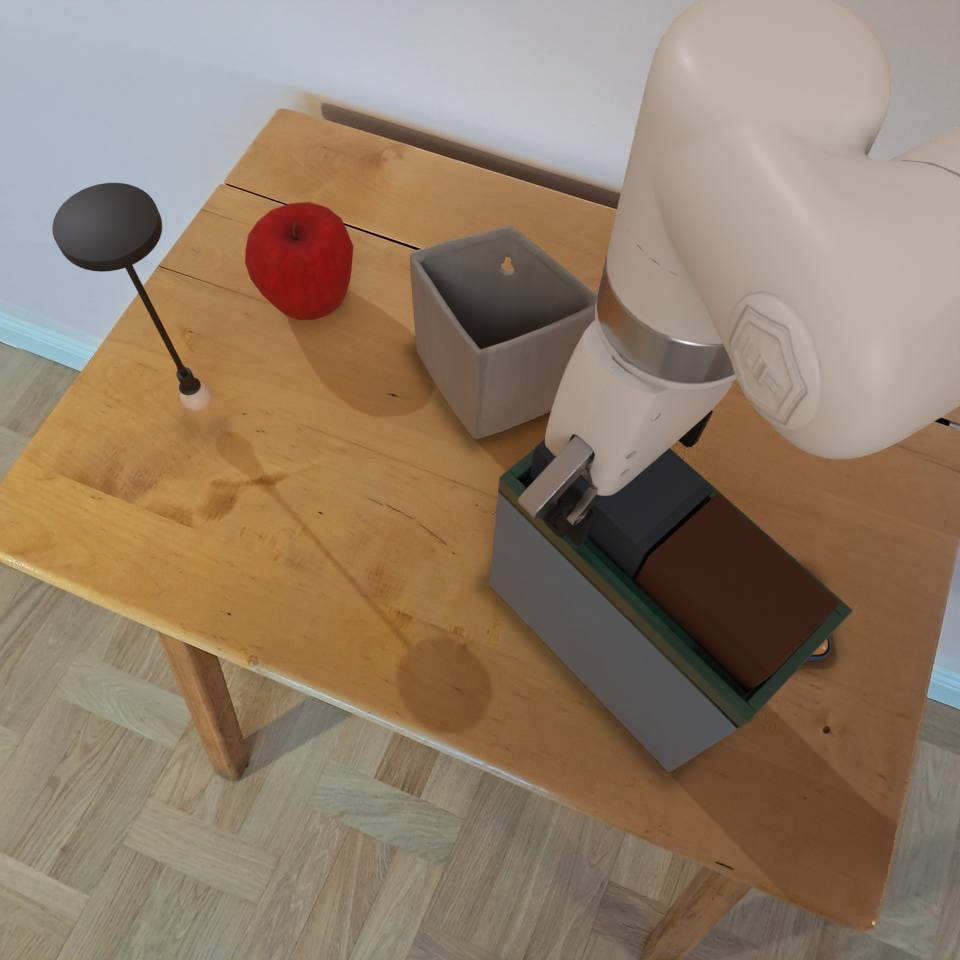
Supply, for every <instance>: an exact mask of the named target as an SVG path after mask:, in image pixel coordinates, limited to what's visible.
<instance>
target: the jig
mask: <svg viewBox="0 0 960 960" xmlns="http://www.w3.org/2000/svg"><path fill="white" fill-rule="evenodd" d="M669 450H671V451H672V452H673V453H674V454H675V455H676V456H677V457H678V458H680V459H681V460H682V461H683V462H684V463H685V464H686V465H687V466H689V467H690V468H691V469H692V470H693V471H694V472H695V473H696V474H698V475H699V476H700V477H701V478H702V479H703V480H704V481H705V482H707V483H708V484H709V485H710V486H711V487H712V488H713V491H712V493H711V494H710V496H709V497H708V499H707V501H706V502H705V504H706V503H707V502H708V501H709V500H710V499H711V498H712V497H714V496H715V495H716V494H717V493H719V494H720V495H721V496H722V497H723V498H724V499H725V500H727V501H728V502H729V503H730V504H731V505H732V506H733V507H734V508H736V509H737V510H738V511H739V512H740V513H741V514H742V515H743V516H744V517H746V518H747V519H748V520H749V521H750V522H751V523H752V524H753V525H754V526H756V527H757V528H758V529H759V530H760V531H761V532H762V533H763V534H765V535H766V536H767V537H768V538H769V539H770V540H771V541H772V542H773V543H775V544H776V545H777V546H778V547H779V548H780V549H781V550H782V551H783V552H785V553H786V554H787V555H788V556H789V557H790V558H791V559H792V560H793V561H795V562H796V563H797V564H798V565H799V566H800V567H801V568H802V569H804V570H805V571H806V572H807V573H808V574H809V575H810V576H811V577H812V578H814V579H815V580H816V581H817V582H818V583H819V584H820V585H821V586H822V587H824V588H825V589H826V590H827V591H828V592H829V593H830V594H831V595H833V596H834V597H835V598H836V599H837V600H838V601H839V602H840V605H839V606H838V607H837V608H836V609H835V610H834V611H833V612H832V613H831V614H830V615H829V616H828V617H827V618H826V619H825V620H824V621H823V622H822V623H821V624H820V626H819V627H818V628H817V629H816V630H815V631H814V632H813V633H812V634H811V635H810V636H809V637H808V638H807V639H806V640H805V641H804V642H803V643H802V644H801V645H800V646H799V647H798V648H797V649H796V650H795V652H794V653H793V654H792V655H791V656H790V657H789V658H788V659H787V660H786V661H785V662H784V663H783V664H782V665H781V666H780V667H779V668H778V669H777V670H776V671H775V672H774V673H773V674H772V675H771V676H770V677H768V678H767V679H766V680H764V681H763V682H761V683H760V684H759V685H757V686H756V687H755V688H753V689H752V690H751V691H749V692H748V693H747V692H745V691H744V690H743V689H742V688H741V687H740V686H739V685H738V684H737V683H736V682H735V681H734V680H733V679H732V678H731V677H730V676H729V675H728V674H727V673H726V672H725V671H724V670H723V669H722V668H721V667H720V666H719V665H718V664H717V663H716V662H715V661H714V660H713V659H712V658H711V657H710V656H709V655H708V654H707V653H706V652H705V651H704V650H703V649H701V648H700V647H699V646H698V645H697V644H696V643H695V642H694V641H693V640H692V639H691V638H690V637H689V636H688V635H687V634H686V633H685V632H684V631H683V630H682V629H681V628H680V627H679V626H678V625H677V624H676V623H675V622H674V621H673V620H672V619H671V618H670V617H669V616H668V615H667V614H666V613H665V612H664V611H663V610H662V609H661V608H660V607H659V606H658V605H657V604H656V603H654V602H653V601H652V600H651V599H650V598H649V597H648V596H647V595H646V594H645V593H644V592H643V591H642V590H641V589H640V588H639V587H638V586H637V585H636V584H635V580H636V578H637V576H638V574H639V573H640V571H641V570H640V571H639V572H638V573H637V574H636V575H634V576H633V577H632V578H629V577H628V576H627V575H626V574H625V573H624V572H623V571H622V570H621V569H620V568H619V567H618V566H617V565H616V564H614V563H613V562H612V561H611V560H610V559H609V558H608V557H607V556H606V555H605V554H604V553H603V552H602V551H601V550H600V549H599V548H598V547H597V546H596V545H595V544H594V543H593V542H592V541H591V540H590V539H589V538H588V537H587V538H586V541H585V542H584V543H582V544H581V545H580V546H576V545H575V544H574V543H573V542H572V541H571V540H570V539H569V538H568V537H567V536H566V535H565V536H564V537H563V538H560V537H558V536H557V535H555V534H554V533H553V532H552V531H551V530H550V529H549V528H548V527H547V525H546V524H545V522H544V520H542V521H540V520H537V519H534V518H533V517H532V516H531V515H530V514H529V513H528V512H527V511H526V510H525V509H524V508H523V507H522V506H521V505H520V504H519V503H518V502H517V501H518V499H519V497H520V496H521V494H522V493H523V492H524V491H525V490H526V489H527V488H528V487H529V486H530V485H531V484H532V483H531V482H530V481H529V477H530V471H531V465H532V459H533V453H534V448H533V449H532V450H530V451H529V452H527V454H526V455H524V456H523V457H522V458H520V460H518V461H517V462H516V463H515V464H514V465H512V466H511V467H510V468H509V469H508V470H506V471H505V472H504V473H503V474H501V475H500V476H499V477H498V487H497V493H498V492H499V493H500V494H501V495H502V496H503V497H504V498H505V499H506V500H507V501H508V502H509V503H510V504H511V505H512V506H513V507H514V508H515V509H516V510H517V511H518V512H519V513H520V514H521V515H522V516H523V517H524V518H525V519H526V520H527V521H528V522H529V523H530V524H531V525H532V526H533V527H534V528H535V529H536V530H537V531H538V532H539V533H540V534H541V535H542V536H543V537H544V538H545V539H546V540H547V541H548V542H549V543H550V544H551V545H552V546H553V547H554V548H555V549H556V550H557V551H558V552H559V553H560V554H561V555H562V556H563V557H564V558H565V559H566V560H567V561H568V562H569V563H570V564H571V565H572V566H573V567H574V568H575V569H576V570H577V571H578V572H579V573H580V574H581V575H583V576H584V577H585V578H586V579H587V580H588V581H589V582H590V583H591V584H592V585H593V586H594V587H595V588H596V589H597V590H598V591H599V592H600V593H601V594H602V595H603V596H604V597H605V598H606V599H607V600H608V601H609V602H610V603H611V604H612V605H613V606H614V607H615V608H616V609H617V610H618V611H619V612H620V613H621V614H622V615H623V616H624V617H625V618H626V619H627V620H628V621H629V622H630V623H631V624H632V625H633V626H634V627H635V628H636V629H637V630H638V631H639V632H640V633H641V634H642V635H643V636H644V637H645V638H646V639H647V640H648V641H649V642H650V643H651V644H652V645H653V646H654V647H655V648H656V649H657V650H658V651H659V652H660V653H661V654H662V655H663V656H664V657H665V658H666V659H667V660H668V661H669V662H670V663H671V664H672V665H673V666H674V667H675V668H676V669H677V670H678V671H679V672H680V673H681V674H682V675H683V676H684V677H685V678H686V679H687V680H688V681H689V682H690V683H691V684H692V685H693V686H694V687H695V688H696V689H697V690H698V691H699V692H700V693H701V694H702V695H703V696H704V697H705V698H706V699H707V700H708V701H709V702H711V703H712V704H713V705H714V706H715V707H716V708H717V709H718V710H719V711H720V712H721V713H722V714H723V715H724V716H725V717H726V718H727V719H728V720H729V721H730V722H731V723H732V724H733V725H734V726H735V727H736V728H737V730H739V729H740V728H742V727H743V726H744V725H747V724H748V723H749V722H751V720H753V718H754V717H755V716H756V715H757V714H758V713H759V712H760V711H761V710H762V708H763V707H765V705H767V703H769V701H770V700H771V699H772V698H773V697H774V696H775V695H776V694H777V693H778V692H779V690H780V689H781V688H782V687H783V686H784V685H785V684H787V682H788V681H789V680H790V679H791V678H792V677H793V676H794V675H795V674H796V673H797V672H798V670H799V669H801V667H802V666H803V665H805V663H806V662H807V659H808V658H809V657H810V656H811V655H812V654H813V653H814V652H815V651H816V650H817V649H818V648H819V647H820V646H821V645H822V644H823V642H824V641H825V640H826V639H827V638H828V637H830V636H831V635H833V633H834V632H835V631H836V630H837V629H838V628H839V627H840V626H841V625H842V624H843V622H844V621H845V620H846V619H847V618H848V617H849V616H850V615H851V614H852V613H853V609H852V608H851V607H850V606H849V605H848V604H847V603H845V602H844V601H843V600H842V599H841V598H840V597H838V596H837V594H835V593H834V592H833V591H832V590H831V589H830V588H829V587H827V586H826V585H825V584H824V583H823V582H822V581H821V580H819V579H818V578H817V577H816V576H815V575H814V574H813V573H812V572H810V571H809V569H807V568H806V567H805V566H804V565H803V564H801V563H800V562H799V561H798V560H797V559H796V558H795V557H793V556H792V554H790V553H789V552H788V551H787V550H786V549H784V547H782V546H781V545H780V544H779V543H778V542H777V541H776V540H774V538H773V537H772V536H770V535H769V534H768V533H767V532H765V530H764V529H762V528H761V527H760V526H758V524H757V523H756V522H754V521H753V520H752V519H751V518H750V517H749V516H747V515H746V514H745V513H744V512H743V511H742V510H741V509H739V508H738V506H736V505H735V504H734V503H733V502H732V501H730V500H729V499H728V498H727V497H726V496H725V495H724V494H723V493H722V492H721V491H719V490H718V489H717V488H716V487H715V486H714V485H712V484H711V483H710V482H709V481H708V480H707V479H705V477H704V476H702V475H701V473H699V472H698V471H697V470H696V469H694V467H692V466H691V464H689V463H688V462H687V461H686V460H684V458H682V457H681V456H680V455H679V454H678V453H677V452H675V451H674V450H673V449H672V448H671V447H670V448H669ZM705 504H704V505H705Z"/></svg>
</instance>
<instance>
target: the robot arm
mask: <svg viewBox="0 0 960 960" xmlns="http://www.w3.org/2000/svg"><path fill="white" fill-rule="evenodd" d="M892 80H893V79H892V73H891V67H890V62H889V59H888V56H887V53H886V51H885V48H884V46H883V44H882V43H881V41H880V40H879V38H878V37H877V34H876V33H875V32H874V31H873V30H872V29H871V27H870V26H868V25H867V24H866V22H865V21H864V20H863V19H862V18H861V17H860V16H858V14H856V13H855V12H853V11H852V10H851V9H849V7H847V6H845V5H843V4H842V3H840V2H838V1H837V0H696V1H695V2H693V3H691V4H690V5H689V6H688V7H686V8H685V9H684V10H683V11H681V13H680V14H679V15H677V17H675V18H674V19H673V21H672V22H671V24H670V25H669V26H668V28H667V29H666V30H665V32H664V34H663V35H662V36H661V39H660V40H659V42H658V44H657V46H656V48H655V51H654V54H653V57H652V60H651V64H650V67H649V70H648V73H647V77H646V82H645V85H644V90H643V94H642V99H641V103H640V107H639V110H638V111H639V112H638V117H637V121H636V125H635V129H634V135H633V138H632V142H631V147H630V151H629V156H628V160H627V163H626V164H627V165H626V169H625V173H624V177H623V183H622V186H621V191H620V195H619V199H618V203H617V209H616V213H615V217H614V221H613V225H612V230H611V235H610V239H609V245H608V247H607V248H608V249H607V252H606V254H605V255H606V256H605V260H604V265H603V268H602V273H601V277H600V283H599V287H598V291H597V295H598V296H597V300H596V305H595V320H594V321H593V322H592V323H591V324H590V325H589V327H588V328H587V329H586V330H585V332H584V333H583V335H582V337H581V339H580V341H579V342H578V344H577V346H576V348H575V350H574V352H573V354H572V356H571V358H570V361H569V363H568V365H567V367H566V369H565V372H564V374H563V377H562V379H561V382H560V385H559V388H558V391H557V394H556V397H555V400H554V403H553V407H552V410H551V411H550V414H549V417H548V421H547V425H546V429H545V436H544V439H545V445H546V447H547V448H548V449H549V450H550V451H551V452H552V454H553V455H554V456H556V458H555V459H554V460H553V461H552V462H551V463H550V464H549V465H548V466H547V467H546V468H545V469H544V471H543V472H542V473H541V474H540V475H539V476H538V477H537V478H536V479H535V480H534V481H533V482H532V484H531V485H530V486H529V487H528V488H527V489H526V490H525V491H524V492H523V493H522V494H521V496H520V497H519V499H518V501H517V502H518V503H519V504H520V505H521V506H522V507H523V508H524V509H525V510H526V511H527V512H528V513H529V514H530V515H531V516H532V517H533V518H534V519H537V520H540V521H542V520H544V522H545V524H546V525H547V527H548V528H549V529H550V530H551V531H552V532H553V533H554V534H555V535H557V536H558V537H560V538H563V537H564V536H565V535H566V536H567V537H568V538H569V539H570V540H571V541H572V542H573V543H574V544H575V545H576V546H580V545H581V544H582V543H584V542H585V541H586V538H587V535H588V533H589V530H590V527H591V524H592V521H593V518H594V511H593V510H592V509H591V508H592V507H593V506H594V505H595V503H596V502H597V501H598V500H599V498H600V497H601V496H609V495H613V494H615V493H616V492H618V491H619V490H620V489H622V488H623V487H624V486H625V485H627V484H628V483H629V482H630V481H632V480H633V479H634V478H635V477H636V476H637V475H639V474H640V473H641V472H642V471H643V470H644V469H646V468H647V467H648V466H649V465H650V464H651V463H653V462H654V461H655V460H656V459H657V458H658V457H660V456H661V455H662V454H663V453H664V452H665V451H666V450H668V449H669V448H671V447H672V446H674V444H676V443H677V442H679V443H680V444H681V445H683V446H684V448H693V446H695V445H696V444H697V443H698V442H699V440H700V438H701V437H702V434H703V433H704V430H705V429H706V427H707V426H708V425H707V424H708V423H709V421H710V419H711V417H712V415H713V413H714V408H715V407H716V406H717V405H718V404H719V403H720V402H721V401H722V400H723V398H724V397H725V396H726V395H727V394H728V392H729V390H730V389H731V387H732V386H733V384H734V383H735V381H737V383H738V385H739V387H740V389H741V391H742V393H743V395H744V396H745V399H746V400H747V401H748V403H749V404H750V405H751V406H752V408H753V409H754V410H755V412H756V413H757V414H758V415H760V416H761V417H762V418H763V419H764V420H765V421H766V422H767V423H768V424H769V425H770V426H771V427H772V428H773V429H774V431H776V433H778V434H779V435H780V437H782V438H783V439H784V440H785V441H787V442H789V443H790V444H791V445H793V446H794V447H796V448H797V449H798V450H800V451H802V452H805V453H807V454H810V455H813V456H816V457H818V458H822V459H828V460H852V459H853V460H854V459H858V458H863V457H866V456H869V455H873V454H875V453H878V452H881V451H883V450H885V449H887V448H889V447H891V446H894V445H896V444H899V443H900V442H901V441H904V440H905V439H907V438H909V437H910V436H912V435H914V434H916V433H918V432H919V431H921V430H923V429H924V428H926V427H928V426H929V425H931V424H933V423H934V422H936V421H938V420H939V419H941V418H943V417H944V416H946V415H947V414H950V413H951V412H952V411H955V410H956V409H957V408H959V407H960V125H959V126H956V127H954V128H952V129H950V130H948V131H946V132H944V133H941V134H939V135H937V136H935V137H934V138H932V139H930V140H927V141H925V142H923V143H921V144H919V145H916V146H915V147H913V148H911V149H909V150H906V151H905V152H903V153H902V154H899V155H897V156H895V157H892V158H890V159H889V160H887V159H873V158H871V157H869V154H870V151H871V150H872V148H873V146H874V144H875V142H876V139H877V137H878V135H879V133H880V131H881V129H882V127H883V124H884V122H885V121H886V117H887V115H888V112H889V108H890V104H891V95H892V83H893V81H892ZM579 475H580V476H581V477H582V478H583V479H584V480H585V481H586V482H587V483H588V484H589V485H590V487H589V488H588V490H587V491H586V492H585V493H584V495H583V496H582V497H581V496H580V495H579V494H578V493H577V492H576V491H575V490H574V489H573V488H571V487H570V485H571V484H572V483H573V482H574V481H575V480H576V479H577V477H578V476H579Z"/></svg>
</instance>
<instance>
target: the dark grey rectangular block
mask: <svg viewBox="0 0 960 960" xmlns="http://www.w3.org/2000/svg"><path fill="white" fill-rule="evenodd" d="M533 449H534V453H533V459H532V465H531V471H530V477H529V481H530V482H531V483H532V482H533V481H534V480H535V479H536V478H537V477H538V476H539V475H540V474H541V473H542V472H543V471H544V469H545V468H546V467H547V466H548V465H549V464H550V463H551V462H552V461H553V460H554V459H555V458H556V456H554V455H553V454H552V452H551V451H550V450H549V449H548V448H547V447H546V445H545V438H544V439H543V440H542V441H540V442H539V443H538V444H536V446H534V448H533ZM570 487H571V488H573V489H574V490H575V491H576V492H577V493H578V494H579V495H580V496H581V497H582V496H583V495H584V493H585V492H586V491H587V490H588V488H589V487H590V485H589V484H588V483H587V482H586V481H585V480H584V479H583V478H582V477H581V476H580V475H579V476H578V477H577V479H576V480H575V481H574V482H573V483H572V484H571V485H570ZM712 491H713V488H712V487H711V486H710V485H709V484H708V483H707V482H705V481H704V480H703V479H702V478H701V477H700V476H699V475H698V474H696V473H695V472H694V471H693V470H692V469H691V468H690V467H689V466H687V465H686V464H685V463H684V462H683V461H682V460H681V459H680V458H678V457H677V456H676V455H675V454H674V453H673V452H672V451H671V450H669V449H668V450H666V451H665V452H664V453H663V454H662V455H661V456H660V457H658V458H657V459H656V460H655V461H654V462H653V463H651V464H650V465H649V466H648V467H647V468H646V469H644V470H643V471H642V472H641V473H640V474H639V475H637V476H636V477H635V478H634V479H633V480H632V481H630V482H629V483H628V484H627V485H625V486H624V487H623V488H622V489H620V490H619V491H618V492H616V493H615V494H613V495H609V496H601V497H600V498H599V500H598V501H597V502H596V503H595V505H594V506H593V507H592V508H591V509H592V510H593V511H594V518H593V521H592V524H591V527H590V530H589V533H588V535H587V537H588V538H589V539H590V540H591V541H592V542H593V543H594V544H595V545H596V546H597V547H598V548H599V549H600V550H601V551H602V552H603V553H604V554H605V555H606V556H607V557H608V558H609V559H610V560H611V561H612V562H613V563H614V564H616V565H617V566H618V567H619V568H620V569H621V570H622V571H623V572H624V573H625V574H626V575H627V576H628V577H629V578H632V577H633V576H634V575H636V574H637V573H638V572H639V571H640V570H641V569H642V567H643V565H644V563H645V562H646V560H647V558H648V556H649V555H650V554H651V553H652V552H653V551H654V550H655V549H656V548H657V547H659V546H660V545H661V544H662V543H663V542H664V541H665V540H666V539H667V538H668V537H670V536H671V535H672V534H673V533H674V532H675V531H676V530H677V529H678V528H679V527H681V526H682V525H683V524H684V523H685V522H686V521H687V520H688V519H689V518H690V517H692V516H693V515H694V514H695V513H696V512H697V511H698V510H699V509H700V508H701V507H703V506H704V504H705V502H706V501H707V499H708V497H709V496H710V494H711V493H712Z"/></svg>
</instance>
